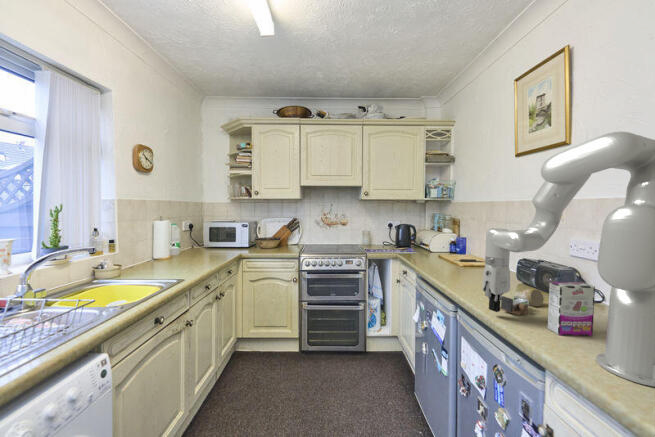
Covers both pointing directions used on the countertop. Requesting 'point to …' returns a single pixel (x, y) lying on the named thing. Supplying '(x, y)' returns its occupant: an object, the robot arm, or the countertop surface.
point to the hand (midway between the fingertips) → (494, 310)
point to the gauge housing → (520, 309)
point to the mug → (531, 296)
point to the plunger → (512, 303)
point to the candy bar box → (571, 308)
